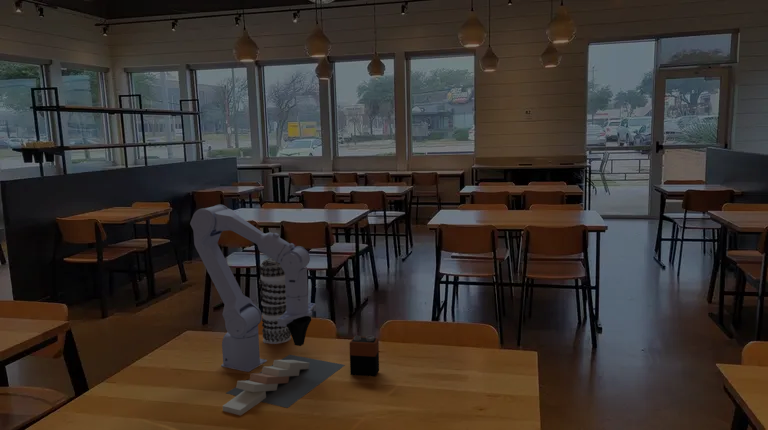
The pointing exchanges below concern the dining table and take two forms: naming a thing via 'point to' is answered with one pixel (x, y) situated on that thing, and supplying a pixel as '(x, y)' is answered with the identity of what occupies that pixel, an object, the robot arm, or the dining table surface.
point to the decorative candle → (273, 301)
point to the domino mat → (298, 382)
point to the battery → (364, 356)
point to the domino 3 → (268, 378)
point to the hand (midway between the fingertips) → (299, 344)
